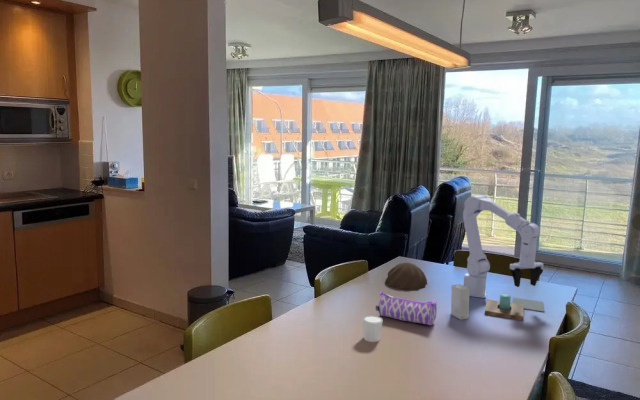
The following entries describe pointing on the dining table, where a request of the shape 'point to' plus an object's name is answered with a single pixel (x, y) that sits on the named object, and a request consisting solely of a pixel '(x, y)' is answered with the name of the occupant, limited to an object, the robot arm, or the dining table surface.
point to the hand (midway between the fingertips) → (524, 285)
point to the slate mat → (530, 304)
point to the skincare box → (460, 301)
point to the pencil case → (407, 309)
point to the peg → (504, 302)
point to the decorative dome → (406, 277)
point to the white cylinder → (372, 328)
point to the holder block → (513, 314)
